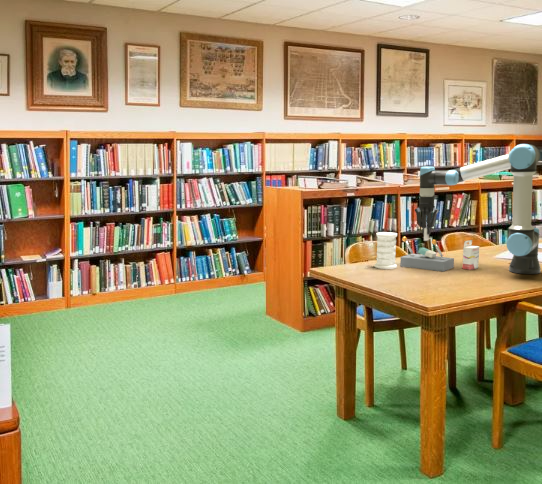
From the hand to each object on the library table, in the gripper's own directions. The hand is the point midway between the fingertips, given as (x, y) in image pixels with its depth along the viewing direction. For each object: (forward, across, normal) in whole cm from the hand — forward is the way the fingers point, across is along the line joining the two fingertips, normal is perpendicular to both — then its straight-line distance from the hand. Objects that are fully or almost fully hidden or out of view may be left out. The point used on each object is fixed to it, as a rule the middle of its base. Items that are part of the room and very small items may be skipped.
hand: (426, 240), depth 342 cm
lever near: (+8, -10, +1) cm, 13 cm away
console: (+14, -1, +1) cm, 14 cm away
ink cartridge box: (+15, -21, -9) cm, 27 cm away
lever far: (+8, +7, +1) cm, 11 cm away
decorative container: (+14, +16, +15) cm, 26 cm away
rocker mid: (+8, -1, +1) cm, 8 cm away
